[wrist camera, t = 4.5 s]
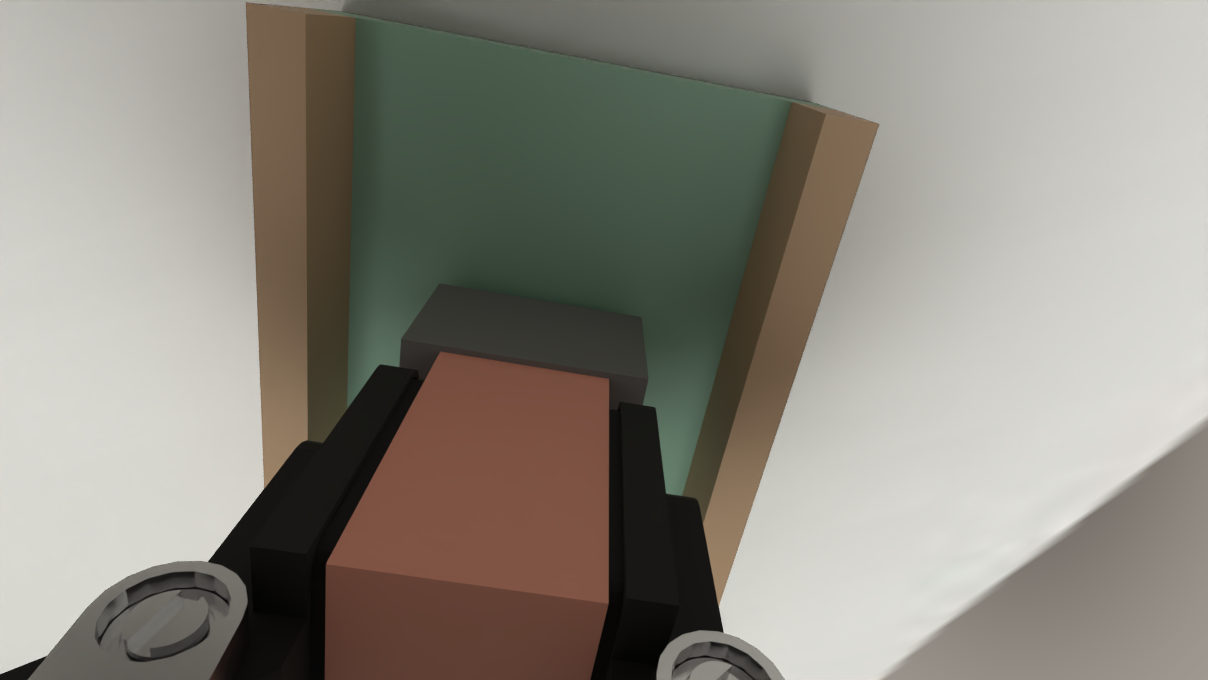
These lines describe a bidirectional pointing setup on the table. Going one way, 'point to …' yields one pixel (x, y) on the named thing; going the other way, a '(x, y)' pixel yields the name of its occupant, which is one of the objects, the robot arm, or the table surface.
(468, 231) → the pitch
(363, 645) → the kicker
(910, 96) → the table surface
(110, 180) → the table surface
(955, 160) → the table surface
